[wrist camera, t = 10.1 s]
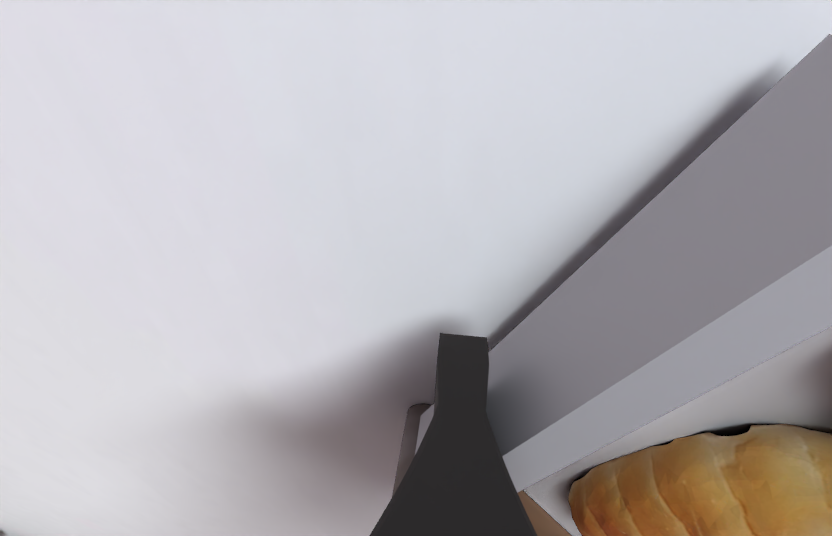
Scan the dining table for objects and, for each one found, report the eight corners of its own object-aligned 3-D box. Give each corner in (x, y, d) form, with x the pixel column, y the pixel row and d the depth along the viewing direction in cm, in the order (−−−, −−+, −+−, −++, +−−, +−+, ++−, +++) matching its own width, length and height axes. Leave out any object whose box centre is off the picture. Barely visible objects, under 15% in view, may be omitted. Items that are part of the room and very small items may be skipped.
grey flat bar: (451, 428, 14) (442, 532, 12) (420, 415, 14) (405, 518, 12) (883, 76, 6) (1132, 166, 4) (829, 34, 6) (1057, 100, 4)
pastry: (604, 524, 19) (624, 630, 16) (534, 452, 16) (543, 566, 13) (868, 494, 15) (961, 634, 12) (834, 389, 12) (946, 538, 9)
